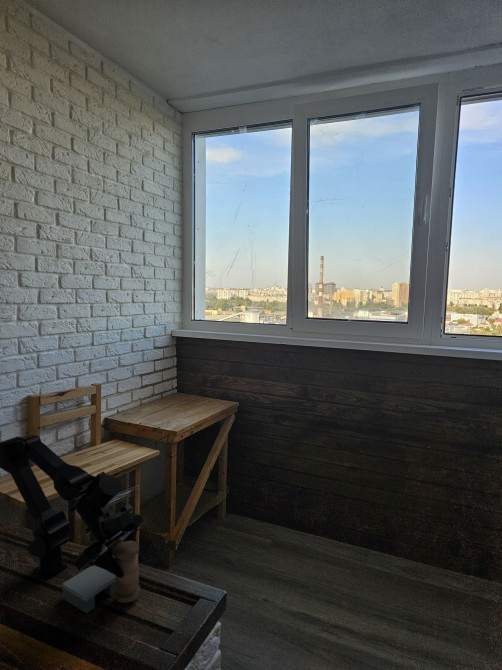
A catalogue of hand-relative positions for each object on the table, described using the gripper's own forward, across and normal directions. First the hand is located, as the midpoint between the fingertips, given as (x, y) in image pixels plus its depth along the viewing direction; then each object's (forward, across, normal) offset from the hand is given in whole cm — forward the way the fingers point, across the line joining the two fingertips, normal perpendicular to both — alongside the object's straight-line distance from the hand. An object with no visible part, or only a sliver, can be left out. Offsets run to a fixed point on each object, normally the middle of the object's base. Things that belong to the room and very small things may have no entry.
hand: (131, 570), depth 104 cm
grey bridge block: (-2, -3, +13) cm, 14 cm away
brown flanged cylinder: (+4, 0, +6) cm, 7 cm away
